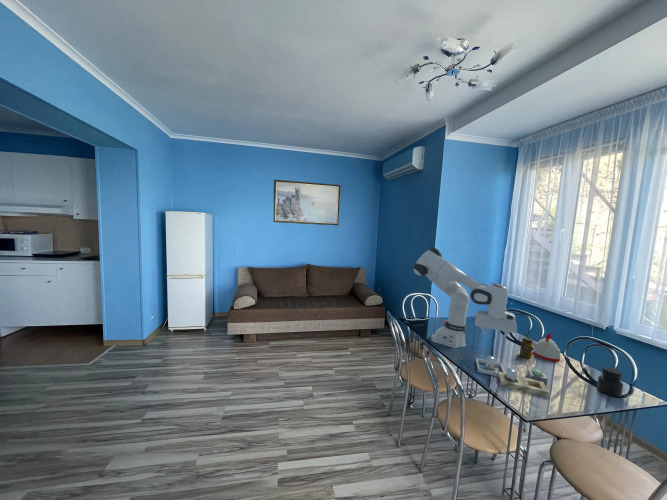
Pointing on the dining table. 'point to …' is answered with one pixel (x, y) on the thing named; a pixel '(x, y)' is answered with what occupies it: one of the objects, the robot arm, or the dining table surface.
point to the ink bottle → (610, 382)
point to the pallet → (524, 385)
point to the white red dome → (547, 349)
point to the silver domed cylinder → (511, 375)
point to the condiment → (526, 349)
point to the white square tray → (488, 370)
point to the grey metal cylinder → (490, 363)
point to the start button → (537, 372)
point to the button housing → (537, 377)
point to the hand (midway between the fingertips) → (493, 336)
